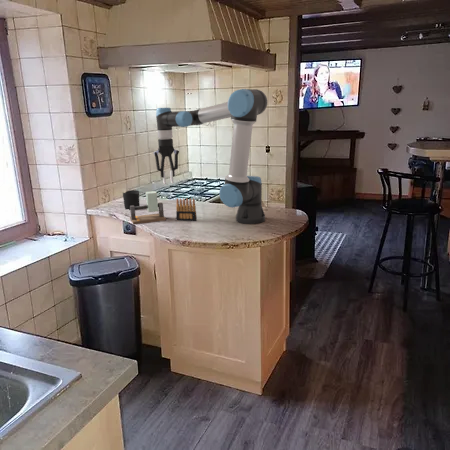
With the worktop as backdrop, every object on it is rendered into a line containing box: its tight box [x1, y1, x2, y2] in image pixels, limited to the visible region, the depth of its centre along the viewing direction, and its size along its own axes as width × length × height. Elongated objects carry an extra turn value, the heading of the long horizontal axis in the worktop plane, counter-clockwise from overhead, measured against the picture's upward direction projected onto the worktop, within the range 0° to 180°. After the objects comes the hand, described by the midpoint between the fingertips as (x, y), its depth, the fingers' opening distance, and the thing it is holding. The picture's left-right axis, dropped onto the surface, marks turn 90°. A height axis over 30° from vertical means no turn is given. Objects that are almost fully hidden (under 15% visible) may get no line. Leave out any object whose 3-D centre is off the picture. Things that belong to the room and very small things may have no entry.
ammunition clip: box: [175, 197, 198, 222], centre depth 225 cm, size 11×2×12 cm, turn 77°
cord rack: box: [129, 202, 167, 225], centre depth 229 cm, size 12×17×8 cm
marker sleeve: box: [145, 190, 159, 213], centre depth 229 cm, size 5×5×10 cm
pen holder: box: [122, 189, 141, 211], centre depth 256 cm, size 9×9×10 cm
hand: (168, 183), depth 229 cm, fingers open, 3 cm apart
